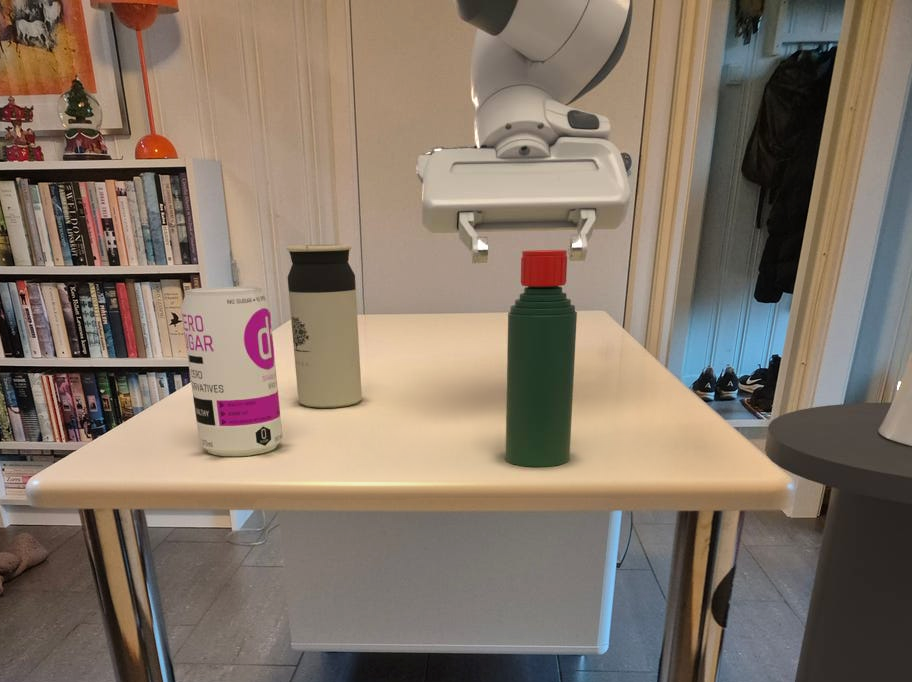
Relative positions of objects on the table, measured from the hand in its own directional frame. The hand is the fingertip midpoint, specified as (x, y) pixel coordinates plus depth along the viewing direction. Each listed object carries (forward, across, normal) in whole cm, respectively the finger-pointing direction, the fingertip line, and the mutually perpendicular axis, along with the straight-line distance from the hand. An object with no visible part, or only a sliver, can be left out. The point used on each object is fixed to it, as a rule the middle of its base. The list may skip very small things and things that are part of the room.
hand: (529, 257), depth 81 cm
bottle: (+19, 0, +5) cm, 19 cm away
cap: (+8, 0, -5) cm, 10 cm away
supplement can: (+13, -29, +11) cm, 34 cm away
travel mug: (-3, -22, +27) cm, 35 cm away
